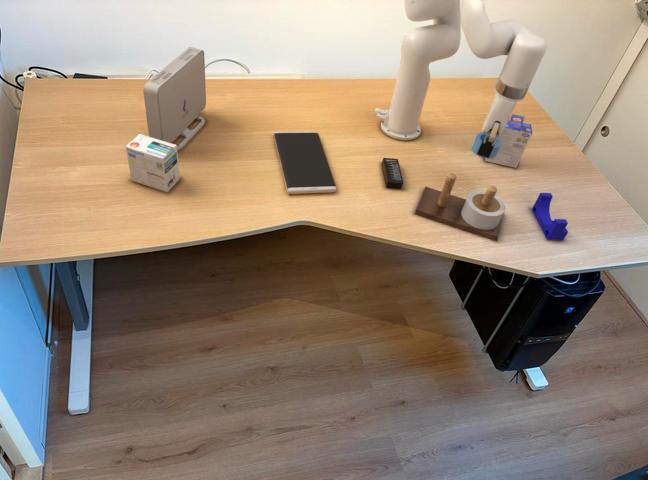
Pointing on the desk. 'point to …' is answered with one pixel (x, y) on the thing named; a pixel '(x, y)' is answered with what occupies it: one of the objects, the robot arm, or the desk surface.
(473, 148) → the tape roll
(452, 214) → the tape stand
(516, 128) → the ink cartridge box
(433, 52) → the robot arm
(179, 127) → the network device
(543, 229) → the cable clip
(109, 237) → the desk surface
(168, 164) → the light bulb box
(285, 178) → the smartphone
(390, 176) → the multiport hub
